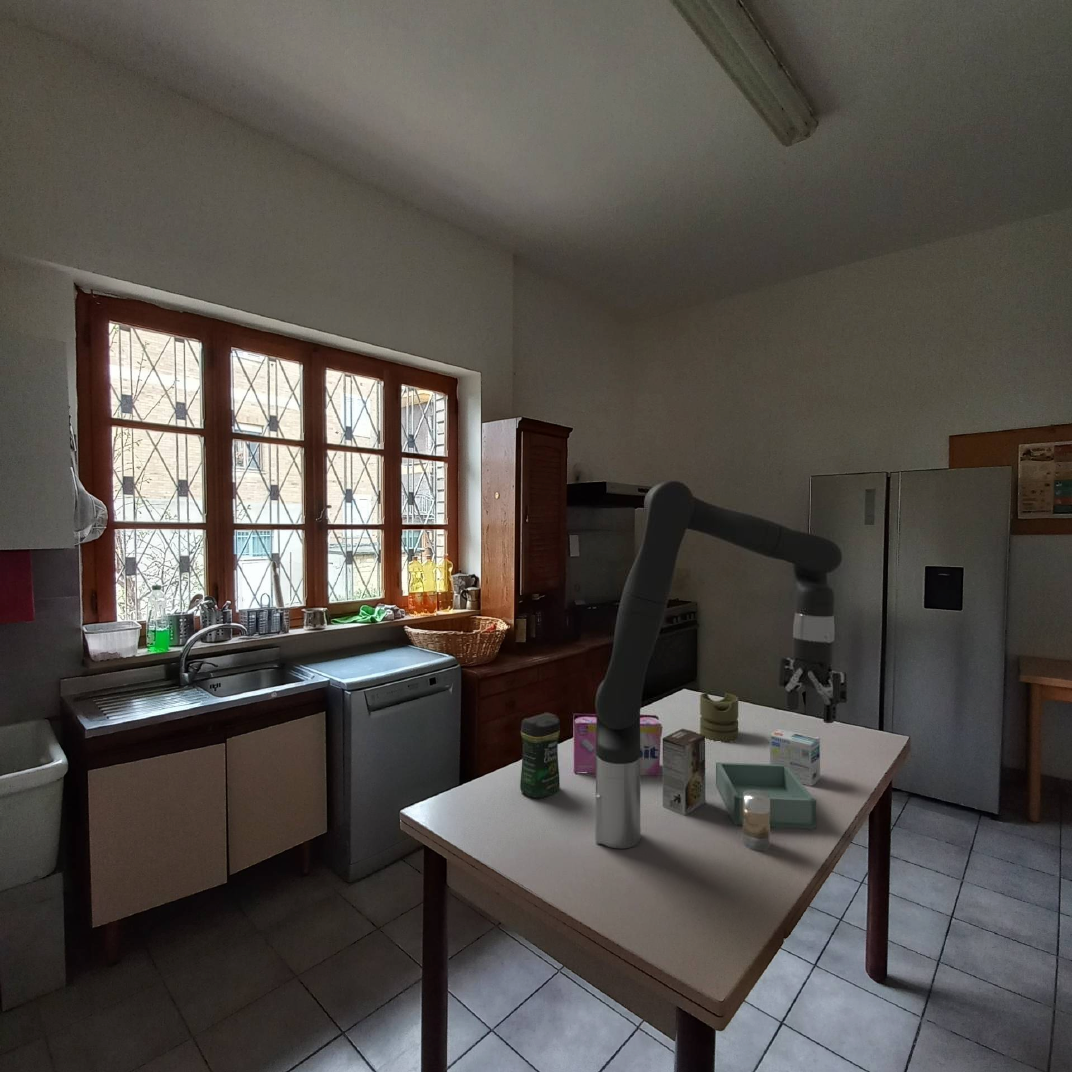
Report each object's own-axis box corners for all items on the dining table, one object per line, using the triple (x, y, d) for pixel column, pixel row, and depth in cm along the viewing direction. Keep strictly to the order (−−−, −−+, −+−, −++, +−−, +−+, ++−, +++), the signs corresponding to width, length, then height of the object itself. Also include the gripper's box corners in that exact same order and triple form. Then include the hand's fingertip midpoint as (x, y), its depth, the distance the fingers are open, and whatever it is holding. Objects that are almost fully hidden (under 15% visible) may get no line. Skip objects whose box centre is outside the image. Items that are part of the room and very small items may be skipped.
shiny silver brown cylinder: (746, 850, 116) (746, 801, 116) (739, 836, 122) (739, 789, 122) (773, 852, 116) (773, 802, 116) (765, 837, 121) (765, 790, 121)
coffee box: (682, 793, 141) (682, 727, 141) (706, 802, 137) (706, 734, 137) (661, 806, 135) (661, 737, 135) (685, 816, 130) (685, 744, 130)
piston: (741, 703, 174) (703, 701, 176) (741, 743, 175) (702, 741, 176) (734, 692, 186) (697, 691, 187) (734, 730, 186) (697, 728, 187)
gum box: (660, 764, 159) (660, 714, 159) (665, 776, 152) (665, 724, 151) (573, 761, 161) (573, 713, 161) (573, 773, 153) (573, 722, 153)
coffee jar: (537, 802, 137) (537, 724, 137) (515, 791, 143) (514, 716, 142) (565, 789, 144) (565, 715, 143) (543, 779, 149) (543, 707, 149)
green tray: (734, 824, 127) (734, 797, 126) (716, 786, 145) (716, 762, 145) (815, 828, 125) (816, 800, 125) (786, 788, 144) (786, 764, 144)
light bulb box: (820, 779, 150) (821, 737, 150) (812, 787, 145) (812, 744, 145) (778, 767, 157) (778, 727, 157) (769, 775, 152) (769, 734, 152)
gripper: (772, 631, 123) (769, 707, 123) (831, 644, 110) (828, 729, 110) (797, 629, 126) (794, 703, 126) (858, 642, 113) (855, 725, 113)
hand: (810, 715), depth 118 cm, fingers open, 8 cm apart
